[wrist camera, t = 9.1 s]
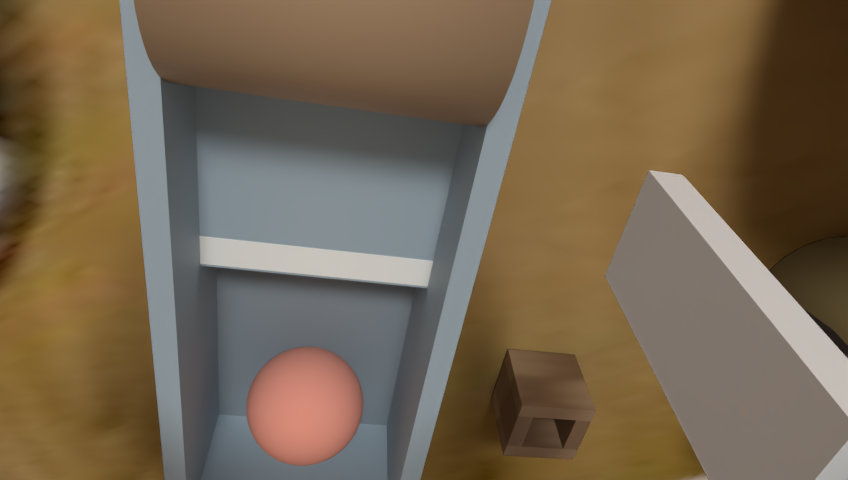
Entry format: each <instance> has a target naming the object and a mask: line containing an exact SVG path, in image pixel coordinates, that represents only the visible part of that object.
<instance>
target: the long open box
mask: <svg viewBox="0 0 848 480" xmlns="http://www.w3.org/2000/svg"><path fill="white" fill-rule="evenodd" d="M119 1H120V11H121V22H122V32H123V43H124V54H125V64H126V75H127V86H128V96H129V107H130V117H131V128H132V139H133V149H134V160H135V170H136V181H137V192H138V202H139V213H140V224H141V234H142V245H143V255H144V266H145V277H146V287H147V298H148V308H149V319H150V330H151V340H152V351H153V362H154V372H155V383H156V393H157V404H158V415H159V425H160V436H161V446H162V457H163V468H164V478H165V480H420V479H421V475H422V471H423V468H424V464H425V460H426V457H427V453H428V450H429V446H430V442H431V439H432V435H433V431H434V428H435V424H436V420H437V417H438V413H439V409H440V406H441V402H442V398H443V395H444V391H445V387H446V384H447V380H448V376H449V373H450V369H451V365H452V362H453V358H454V355H455V351H456V347H457V344H458V340H459V336H460V333H461V329H462V325H463V322H464V318H465V314H466V311H467V307H468V303H469V300H470V296H471V292H472V289H473V285H474V281H475V278H476V274H477V270H478V267H479V263H480V260H481V256H482V252H483V249H484V245H485V241H486V238H487V234H488V230H489V227H490V223H491V219H492V216H493V212H494V208H495V205H496V201H497V197H498V194H499V190H500V186H501V183H502V179H503V175H504V172H505V168H506V165H507V161H508V157H509V154H510V150H511V146H512V143H513V139H514V135H515V132H516V128H517V124H518V121H519V117H520V113H521V110H522V106H523V102H524V99H525V95H526V91H527V88H528V84H529V80H530V77H531V73H532V69H533V66H534V62H535V59H536V55H537V51H538V48H539V44H540V40H541V37H542V33H543V29H544V26H545V22H546V18H547V15H548V11H549V7H550V4H551V0H119ZM298 347H318V348H322V349H326V350H328V351H331V352H333V353H335V354H337V355H338V356H340V357H341V358H342V359H343V360H345V361H346V362H347V363H348V364H349V365H350V367H351V368H352V369H353V371H354V372H355V374H356V376H357V377H358V380H359V382H360V385H361V389H362V393H363V414H362V418H361V421H360V425H359V427H358V429H357V431H356V433H355V435H354V437H353V438H352V440H351V441H350V442H349V443H348V444H347V446H346V447H345V448H344V449H343V450H342V451H340V452H339V453H338V454H336V455H335V456H334V457H332V458H330V459H328V460H326V461H323V462H321V463H317V464H313V465H306V466H297V465H290V464H286V463H283V462H281V461H278V460H276V459H275V458H273V457H271V456H270V455H268V454H267V453H266V452H265V451H264V450H263V449H262V448H261V447H260V446H259V445H258V444H257V442H256V441H255V439H254V437H253V435H252V433H251V431H250V428H249V425H248V421H247V413H246V404H247V397H248V393H249V390H250V387H251V384H252V382H253V380H254V378H255V377H256V375H257V374H258V372H259V371H260V369H261V368H262V367H263V366H264V365H265V364H266V363H267V362H268V361H269V360H271V359H272V358H273V357H275V356H277V355H278V354H280V353H282V352H284V351H286V350H289V349H293V348H298Z"/></svg>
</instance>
